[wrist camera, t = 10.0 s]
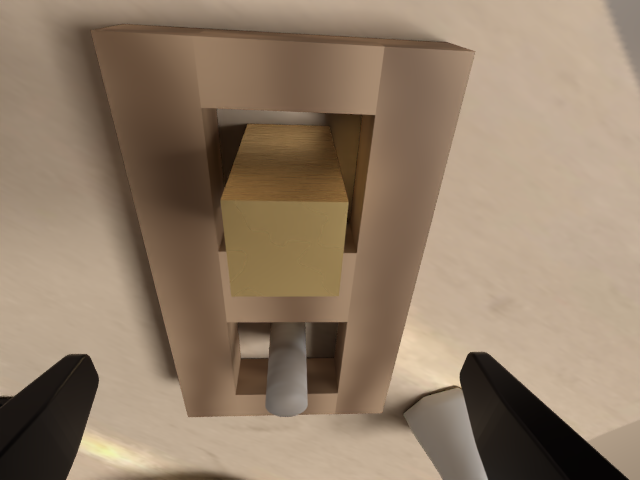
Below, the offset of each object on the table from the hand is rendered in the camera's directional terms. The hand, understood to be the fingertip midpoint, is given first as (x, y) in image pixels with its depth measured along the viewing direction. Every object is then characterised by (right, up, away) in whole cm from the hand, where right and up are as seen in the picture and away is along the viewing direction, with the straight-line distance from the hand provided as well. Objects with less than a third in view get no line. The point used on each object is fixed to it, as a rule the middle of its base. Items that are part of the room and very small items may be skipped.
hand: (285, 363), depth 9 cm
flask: (+12, -12, +24) cm, 30 cm away
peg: (-1, +7, +10) cm, 13 cm away
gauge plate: (-1, +2, +14) cm, 14 cm away
